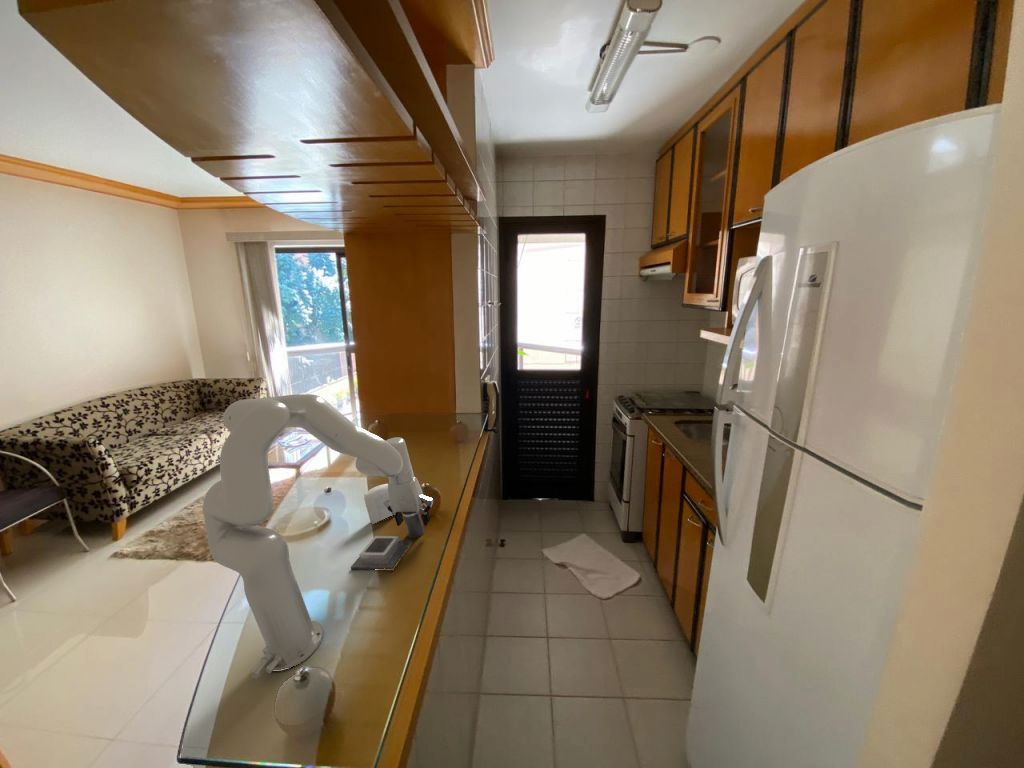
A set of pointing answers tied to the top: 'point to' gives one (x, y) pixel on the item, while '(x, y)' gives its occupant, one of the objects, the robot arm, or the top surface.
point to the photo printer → (377, 503)
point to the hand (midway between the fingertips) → (413, 523)
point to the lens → (413, 524)
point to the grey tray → (381, 553)
